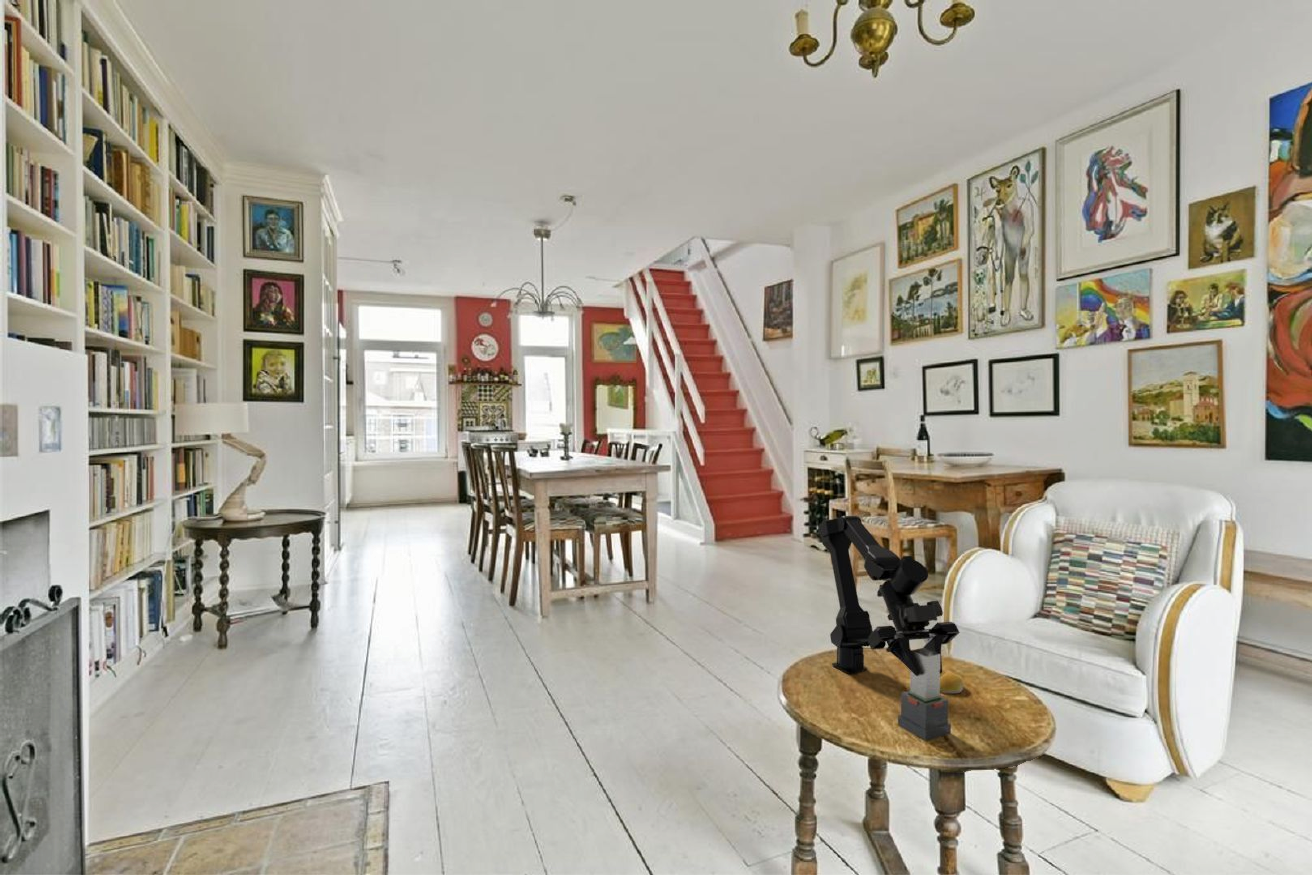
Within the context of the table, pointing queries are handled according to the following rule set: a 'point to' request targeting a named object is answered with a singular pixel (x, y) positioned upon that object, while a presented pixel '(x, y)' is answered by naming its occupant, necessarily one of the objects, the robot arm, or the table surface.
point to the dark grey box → (924, 717)
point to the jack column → (926, 676)
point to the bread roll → (950, 683)
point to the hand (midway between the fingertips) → (929, 674)
